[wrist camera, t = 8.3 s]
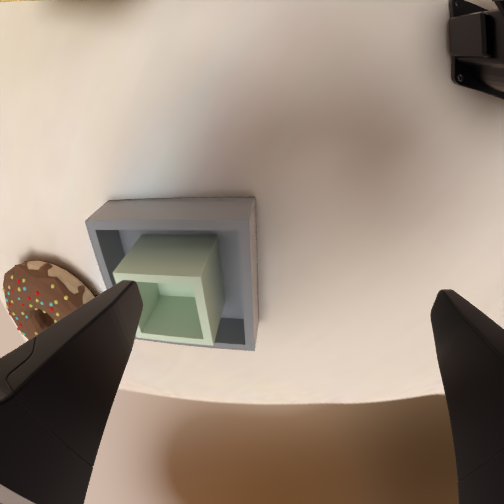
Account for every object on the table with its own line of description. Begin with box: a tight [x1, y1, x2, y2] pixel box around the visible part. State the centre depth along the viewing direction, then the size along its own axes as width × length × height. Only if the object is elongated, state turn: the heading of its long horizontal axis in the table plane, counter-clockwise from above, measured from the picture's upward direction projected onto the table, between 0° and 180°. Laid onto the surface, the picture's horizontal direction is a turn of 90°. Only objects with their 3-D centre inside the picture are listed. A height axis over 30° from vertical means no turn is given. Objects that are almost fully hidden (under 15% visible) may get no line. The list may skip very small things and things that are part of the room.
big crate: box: [85, 197, 259, 351], centre depth 23 cm, size 11×11×4 cm
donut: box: [2, 261, 95, 341], centre depth 27 cm, size 14×14×5 cm
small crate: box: [113, 235, 225, 346], centre depth 22 cm, size 6×6×5 cm
